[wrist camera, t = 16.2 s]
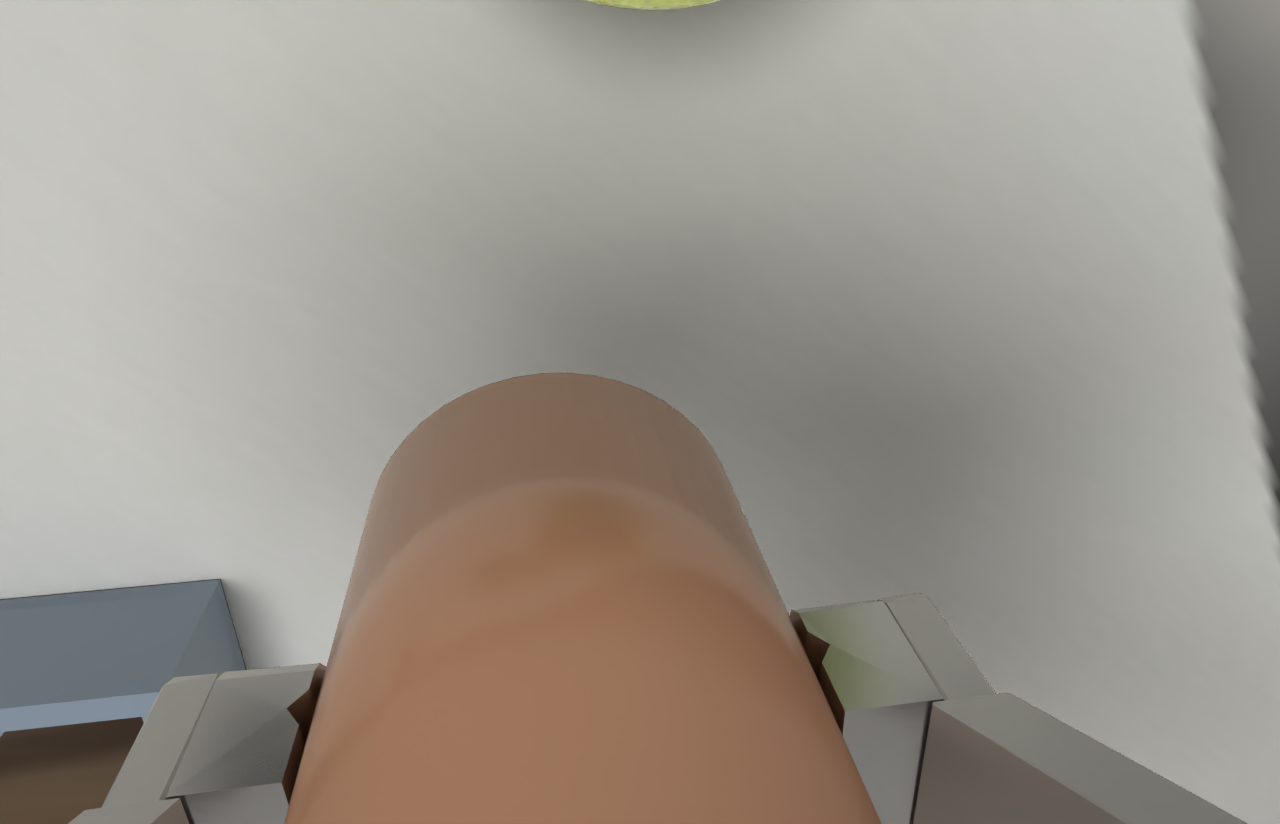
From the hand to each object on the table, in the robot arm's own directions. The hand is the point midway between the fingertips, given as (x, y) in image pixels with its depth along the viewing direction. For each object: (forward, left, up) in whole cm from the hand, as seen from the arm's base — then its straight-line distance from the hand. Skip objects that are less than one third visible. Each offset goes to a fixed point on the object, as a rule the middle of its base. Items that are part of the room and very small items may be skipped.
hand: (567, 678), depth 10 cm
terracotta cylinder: (0, 0, -3) cm, 3 cm away
